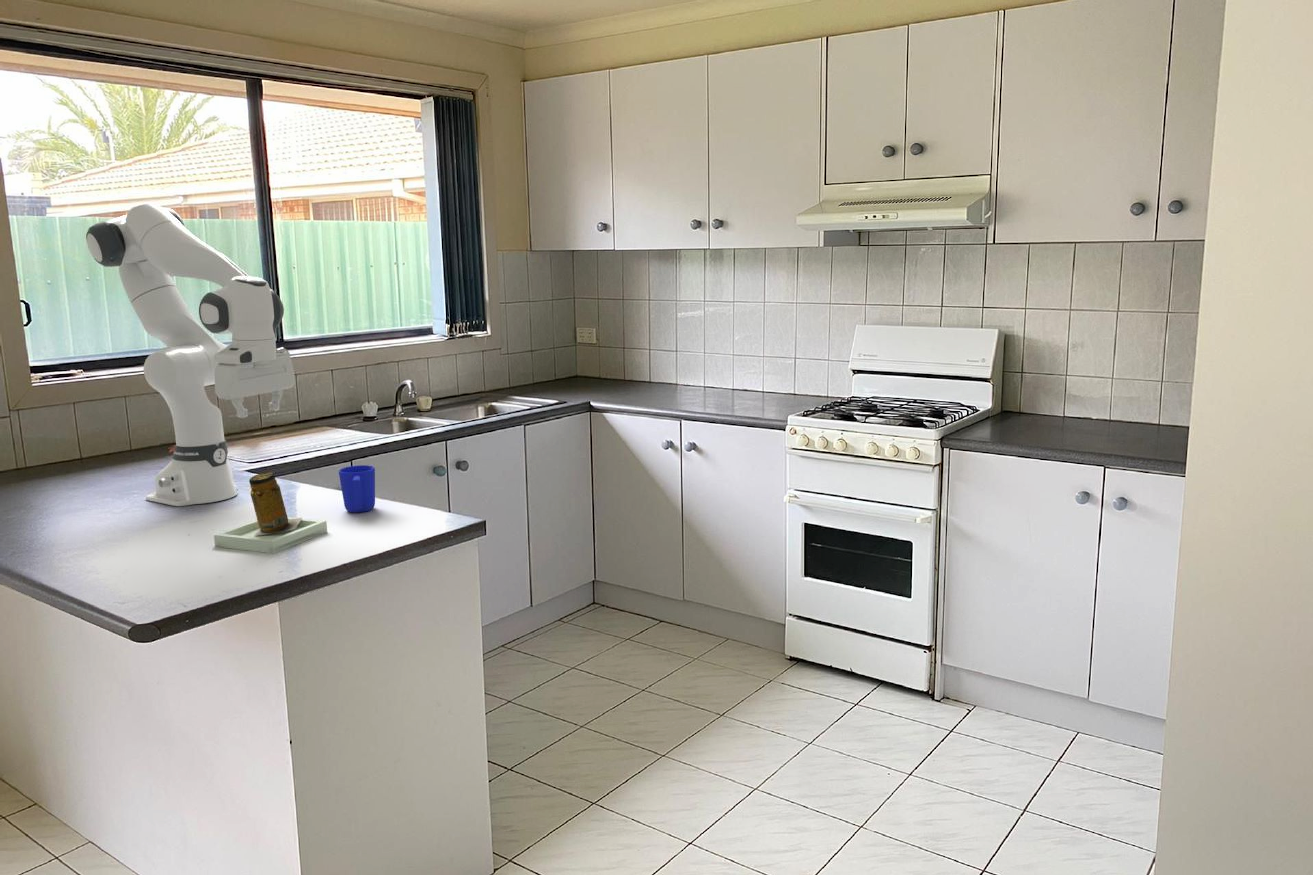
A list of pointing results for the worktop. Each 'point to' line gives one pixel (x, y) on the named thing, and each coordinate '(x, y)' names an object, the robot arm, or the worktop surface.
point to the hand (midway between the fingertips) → (258, 413)
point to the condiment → (269, 505)
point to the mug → (358, 487)
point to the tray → (269, 536)
